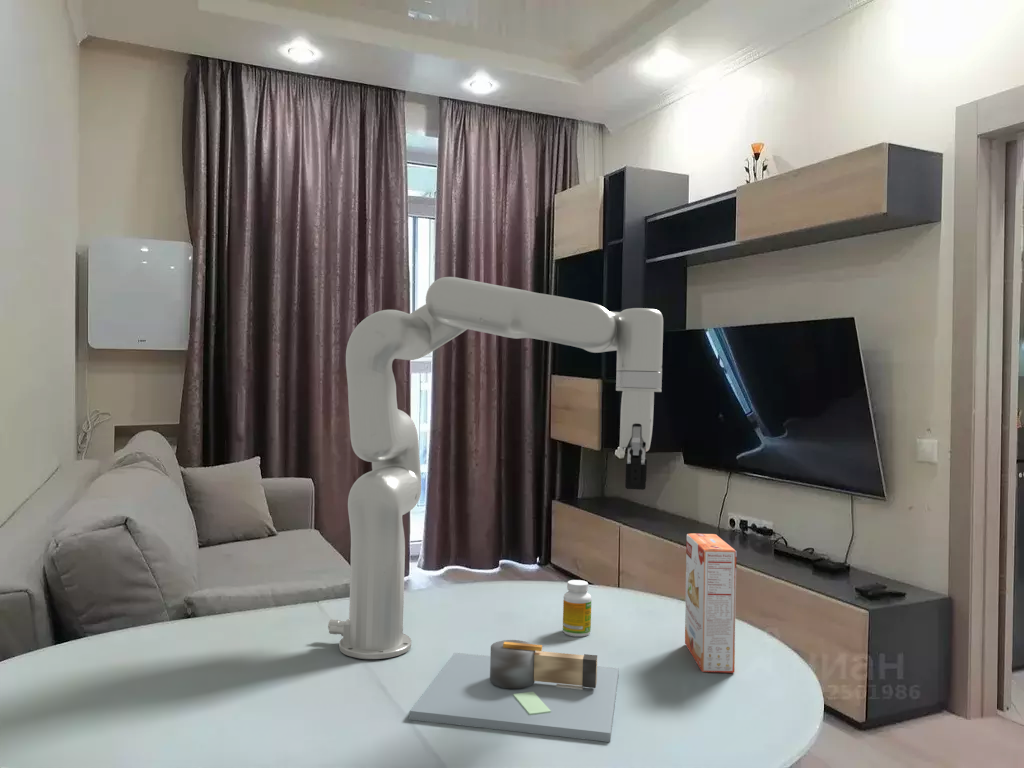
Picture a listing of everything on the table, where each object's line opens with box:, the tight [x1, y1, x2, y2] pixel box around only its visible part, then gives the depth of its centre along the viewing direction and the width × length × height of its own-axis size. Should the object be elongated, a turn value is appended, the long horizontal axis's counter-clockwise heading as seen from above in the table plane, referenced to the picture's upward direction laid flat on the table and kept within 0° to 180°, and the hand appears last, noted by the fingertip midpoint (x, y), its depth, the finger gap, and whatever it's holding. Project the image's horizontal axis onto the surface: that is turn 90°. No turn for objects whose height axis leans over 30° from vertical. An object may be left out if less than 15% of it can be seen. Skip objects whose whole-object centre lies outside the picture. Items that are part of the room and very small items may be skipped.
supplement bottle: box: [562, 579, 592, 638], centre depth 146 cm, size 5×5×10 cm
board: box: [409, 652, 620, 743], centre depth 115 cm, size 28×24×1 cm
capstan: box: [489, 639, 598, 689], centre depth 117 cm, size 16×7×6 cm, turn 79°
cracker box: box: [684, 532, 738, 674], centre depth 134 cm, size 14×6×21 cm, turn 179°
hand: (636, 485), depth 126 cm, fingers open, 9 cm apart
